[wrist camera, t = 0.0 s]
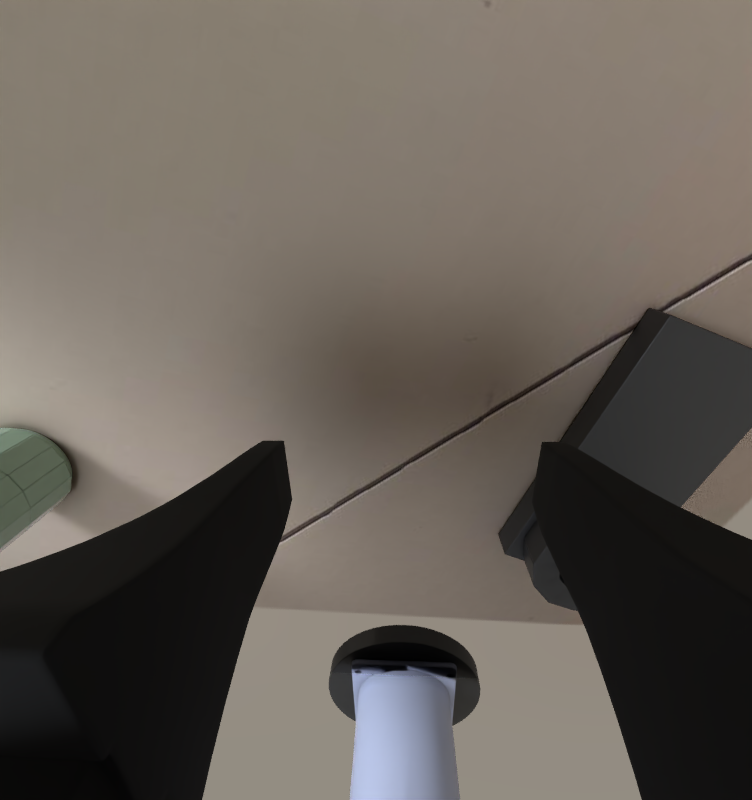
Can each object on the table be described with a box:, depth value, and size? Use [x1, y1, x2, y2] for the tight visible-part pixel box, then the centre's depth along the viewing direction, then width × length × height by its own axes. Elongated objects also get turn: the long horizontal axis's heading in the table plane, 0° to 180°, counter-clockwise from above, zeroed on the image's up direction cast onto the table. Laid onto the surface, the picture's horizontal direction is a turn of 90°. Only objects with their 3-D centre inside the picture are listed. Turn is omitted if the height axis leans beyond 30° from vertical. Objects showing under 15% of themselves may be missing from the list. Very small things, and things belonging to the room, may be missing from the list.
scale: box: [499, 308, 752, 611], centre depth 18 cm, size 14×6×3 cm, turn 160°
